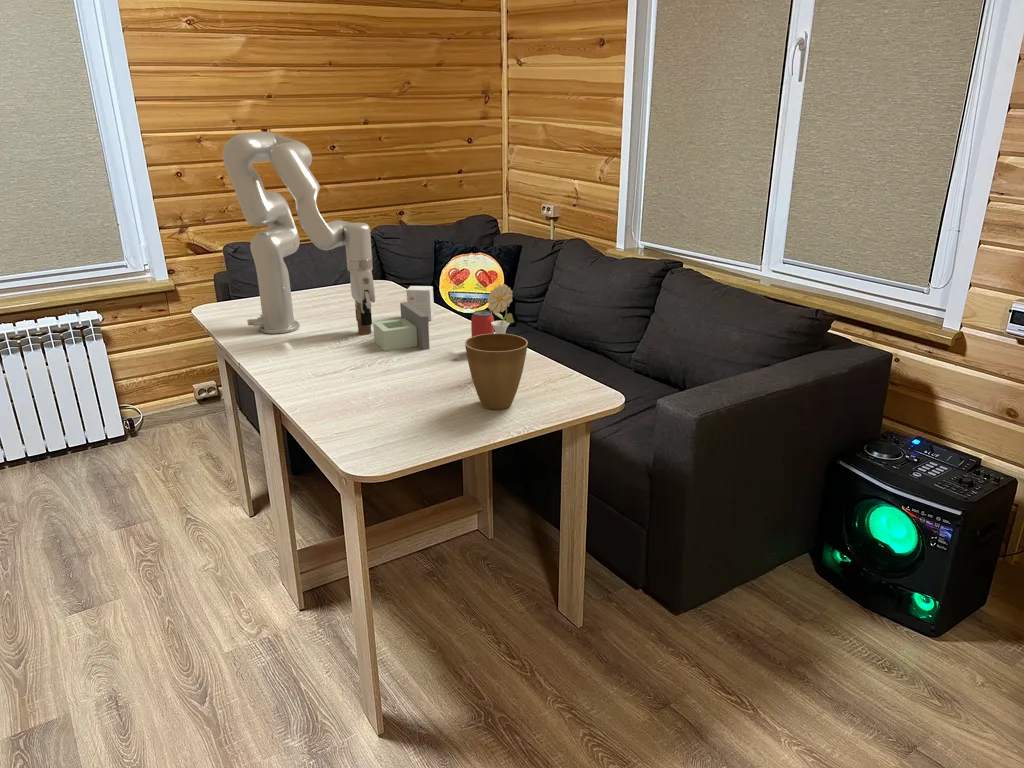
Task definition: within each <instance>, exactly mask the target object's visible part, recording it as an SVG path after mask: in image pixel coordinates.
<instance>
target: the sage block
mask: <svg viewBox="0 0 1024 768" xmlns="http://www.w3.org/2000/svg"><path fill="white" fill-rule="evenodd" d="M372 326H373V328H372V329H373V339H374V343H375V344H376V345H377V346H378V347H380V348H381V349H382V350H383V351H385V352H387V351H388V352H389V351H395V350H403V349H408V348H409V349H410V348H414V347H419V346H418V344H417V327H416V326H415V325H414V324H412V323H411V322H409V321H408V320H407V319H405V318H403V319H401V318H397V319H390V320H384V321H383V320H381V321H375V322H374V321H373V322H372Z"/></svg>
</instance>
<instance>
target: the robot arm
mask: <svg viewBox="0 0 1024 768" xmlns="http://www.w3.org/2000/svg"><path fill="white" fill-rule="evenodd" d="M222 161H223V164H224V168H225V170H226V172H227V174H228V177H229V178H230V181H231V183H232V186H233V189H234V192H235V194H236V198H237V201H238V203H239V206H240V208H241V212H242V215H243V217H244V219H245V221H246V222H247V223H248V224H249V225H250V226H253V227H263V226H267V227H268V228H267V229H263V230H261V231H258V232H257V233H255V234H254V235H253V237H252V238H251V241H250V245H249V247H250V253H251V255H252V258H253V262H254V266H255V270H256V275H257V276H256V277H257V283H258V290H259V291H258V292H259V299H260V307H261V314H260V315H259V317H257V318H255V319H254V318H250V319H247V320H246V321H247V325H248V326H249V327H251V326H253V327H258V330H259V332H261V333H264V334H272V335H273V334H275V335H276V334H277V335H278V333H279V334H286V333H291V332H294V331H296V330H298V329H299V328H300V322H299V321H297V320H295V319H294V318H295V316H294V310H293V309H294V308H293V302H292V301H293V299H292V290H291V283H290V275H289V274H290V273H289V270H288V266H287V265H286V263H285V261H284V258H285V257H288V256H291V255H292V254H295V253H296V252H297V251H298V250H299V247H300V243H301V241H300V235H299V232H298V229H297V226H296V224H295V221H294V218H293V214H292V211H291V208H290V205H289V203H288V201H287V200H286V199H285V198H284V196H283V195H281V194H280V193H279V192H275V191H267V190H266V188H265V186H264V183H263V180H262V178H261V176H260V174H259V173H258V172H257V170H256V169H255V168H254V166H253V164H254V163H260V162H270V163H271V165H272V167H273V169H274V170H275V172H276V173H277V175H278V176H279V178H280V180H281V181H282V182H283V184H284V185H285V187H286V189H287V190H288V191H289V193H290V195H291V196H292V197H293V199H294V200H295V209H296V210H295V211H296V213H297V218H298V223H299V224H300V226H301V228H302V230H303V232H304V233H305V234H306V236H307V237H308V238H309V240H310V241H311V243H312V244H313V245H314V246H315V247H316V248H318V249H319V250H323V251H330V250H333V249H335V248H338V247H342V246H345V255H346V256H345V257H346V269H347V271H348V272H349V277H350V278H349V279H350V292H351V293H350V294H351V296H352V299H354V306H355V307H354V308H355V319H356V321H357V308H356V301H357V302H359V303H360V304H361V311H362V313H361V324H362V326H366V325H371V326H373V320H372V318H373V317H372V303H375V302H376V294H375V284H374V276H373V273H372V270H373V268H374V267H373V254H372V253H373V252H372V238H371V228H370V226H369V224H368V223H366V222H350V221H345V220H340V219H339V220H337V219H335V220H333V221H329V222H326V221H325V220H324V218H323V216H322V215H321V213H320V211H319V209H318V205H317V198H318V195H319V192H320V189H321V186H320V184H319V182H318V181H317V179H316V177H315V176H314V174H313V173H312V171H311V170H310V168H309V167H310V166H311V165H312V162H313V154H312V152H311V150H310V148H309V147H308V146H307V145H306V144H305V143H303V142H302V141H299V140H295V139H292V138H289V137H285V136H283V135H280V134H276V133H274V132H270V131H269V132H268V131H258V132H257V131H256V132H243V133H239V134H235V135H234V136H232V137H231V138H230V139H228V141H227V142H226V144H225V145H224V147H223V153H222ZM363 301H366V303H363ZM363 305H366V306H363Z"/></svg>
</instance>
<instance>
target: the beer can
mask: <svg viewBox="0 0 1024 768" xmlns="http://www.w3.org/2000/svg"><path fill="white" fill-rule="evenodd" d="M493 321H495V318H494V315H493V311H490V310H485V309H484V310H483V309H481V310H475V311H473V312H472V316H471V322H470V324H471V325H470V327H471V330H470V331H471V337H473V336H477V335H482V334H494V333H495V330H494V328H493V326H492V325H491V322H493Z"/></svg>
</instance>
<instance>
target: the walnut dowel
mask: <svg viewBox="0 0 1024 768" xmlns="http://www.w3.org/2000/svg"><path fill="white" fill-rule="evenodd" d="M363 303H366V301H363ZM363 306H366V305H363ZM355 309H357V320H356V322H357V330H358V331H357V332H358V333H357V334H358V335H361V336H368V335H370V334H372V325H366V326H362V324H361V313H362V311H361V304H360V303H359V302H357V301H356V308H355Z"/></svg>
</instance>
